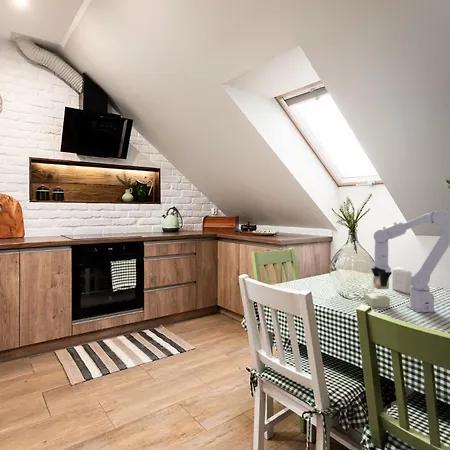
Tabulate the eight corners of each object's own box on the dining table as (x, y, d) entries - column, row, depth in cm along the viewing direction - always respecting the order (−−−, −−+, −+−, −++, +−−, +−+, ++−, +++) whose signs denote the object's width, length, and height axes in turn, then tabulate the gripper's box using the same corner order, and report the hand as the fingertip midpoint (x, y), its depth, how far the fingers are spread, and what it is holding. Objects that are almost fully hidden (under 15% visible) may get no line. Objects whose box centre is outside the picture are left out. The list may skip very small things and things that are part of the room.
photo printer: (412, 293, 178) (413, 269, 178) (406, 293, 177) (406, 269, 176) (397, 288, 188) (397, 265, 188) (390, 289, 187) (391, 266, 186)
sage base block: (389, 307, 156) (389, 298, 156) (371, 307, 157) (371, 298, 156) (382, 302, 164) (382, 293, 164) (365, 302, 165) (365, 293, 164)
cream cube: (388, 289, 159) (389, 278, 159) (377, 289, 159) (378, 278, 159) (383, 286, 164) (383, 275, 164) (373, 286, 164) (373, 276, 164)
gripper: (366, 253, 168) (365, 281, 169) (379, 258, 154) (379, 288, 154) (380, 253, 168) (380, 281, 169) (395, 258, 154) (395, 288, 155)
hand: (380, 284), depth 162 cm, fingers closed on cream cube, 5 cm apart
